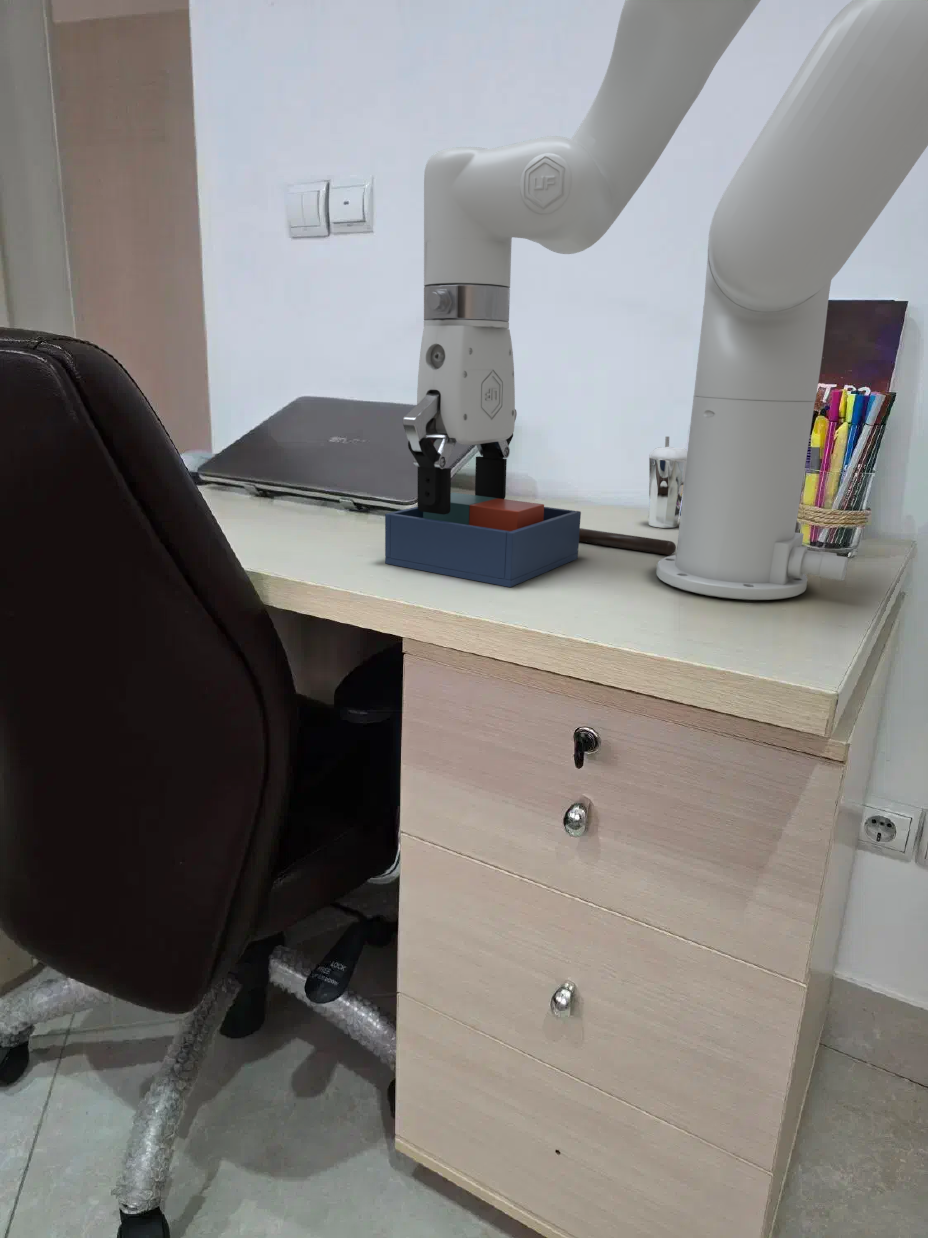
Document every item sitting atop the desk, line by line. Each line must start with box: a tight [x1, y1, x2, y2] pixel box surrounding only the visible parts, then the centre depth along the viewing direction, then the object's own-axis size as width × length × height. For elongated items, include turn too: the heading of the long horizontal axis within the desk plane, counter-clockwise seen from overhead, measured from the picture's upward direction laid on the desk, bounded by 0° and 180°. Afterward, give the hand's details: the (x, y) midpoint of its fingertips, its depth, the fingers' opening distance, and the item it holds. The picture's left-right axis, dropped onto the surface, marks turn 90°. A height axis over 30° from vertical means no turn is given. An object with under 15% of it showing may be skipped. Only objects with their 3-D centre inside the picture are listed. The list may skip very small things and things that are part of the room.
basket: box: [384, 506, 582, 588], centre depth 77 cm, size 13×13×5 cm
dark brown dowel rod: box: [579, 527, 677, 556], centre depth 89 cm, size 28×4×1 cm, turn 57°
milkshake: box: [648, 436, 688, 529], centre depth 96 cm, size 4×5×10 cm
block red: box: [469, 498, 545, 531], centre depth 76 cm, size 5×5×5 cm
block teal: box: [423, 492, 497, 525], centre depth 78 cm, size 5×5×5 cm
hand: (463, 505), depth 77 cm, fingers open, 9 cm apart
